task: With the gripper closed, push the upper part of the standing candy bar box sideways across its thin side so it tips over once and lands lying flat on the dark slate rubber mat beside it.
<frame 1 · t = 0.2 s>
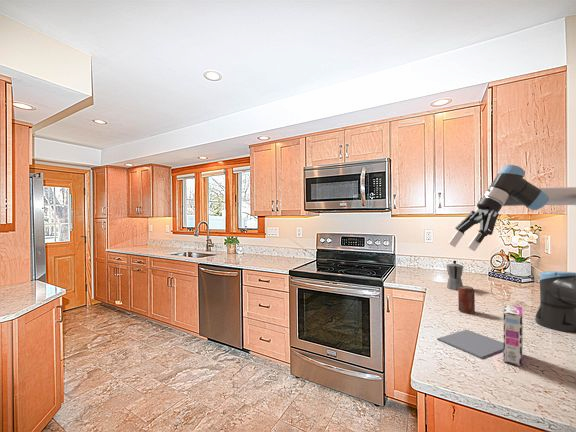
hand: (460, 247, 113), 36 cm above the worktop, tool tilted 35°, fingers open, 13 cm apart
soda can: (466, 311, 143), on the worktop
mat: (473, 343, 108), on the worktop
candy bar box: (513, 358, 97), on the worktop
coffeepot: (455, 289, 185), on the worktop
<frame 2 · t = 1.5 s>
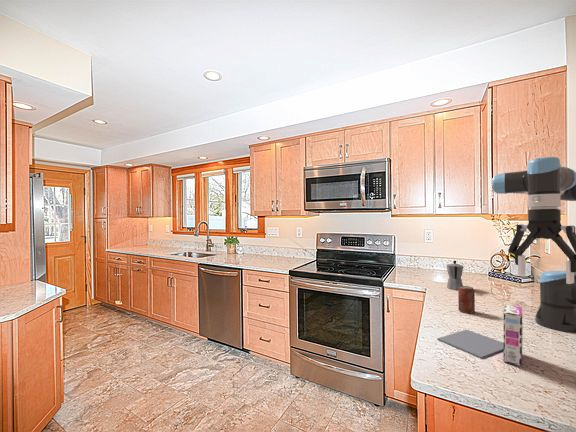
hand: (544, 279, 89), 28 cm above the worktop, tool pointing down, fingers open, 11 cm apart
nothing on the worktop moved.
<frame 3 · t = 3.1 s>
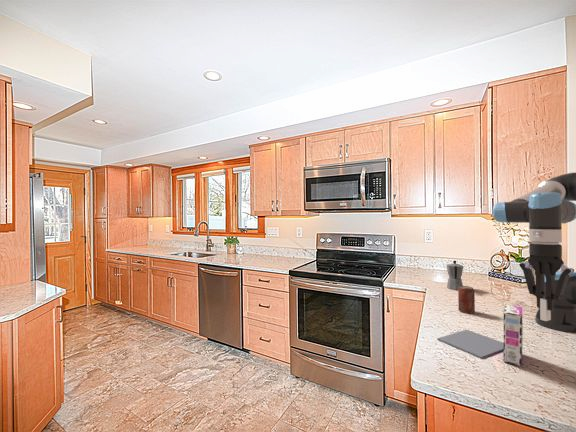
hand: (545, 319, 89), 16 cm above the worktop, tool pointing down, fingers closed
nothing on the worktop moved.
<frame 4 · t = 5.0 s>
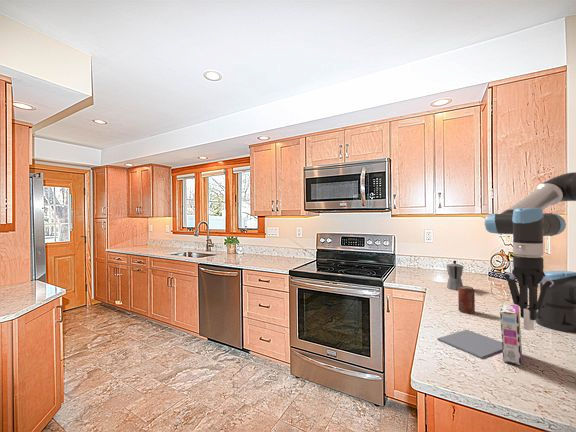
hand: (528, 328, 93), 11 cm above the worktop, tool pointing down, fingers closed
candy bar box: (513, 358, 97), on the worktop, touching gripper
everything else where it was.
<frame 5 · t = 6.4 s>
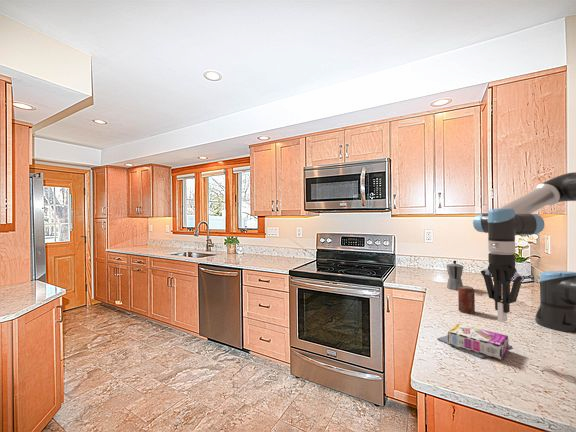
hand: (502, 320, 100), 11 cm above the worktop, tool pointing down, fingers closed
candy bar box: (506, 347, 98), point 3 cm above the worktop, touching mat
everything else where it was.
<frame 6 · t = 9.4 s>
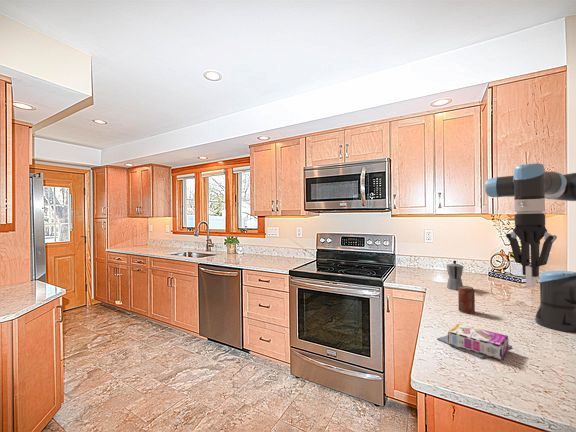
hand: (530, 286, 93), 25 cm above the worktop, tool pointing down, fingers closed
nothing on the worktop moved.
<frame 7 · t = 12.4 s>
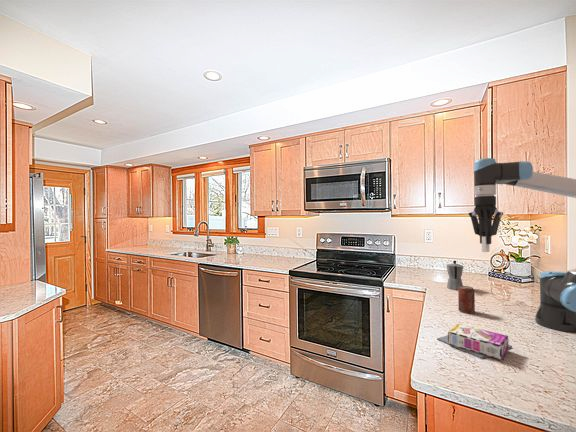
hand: (485, 251, 122), 32 cm above the worktop, tool pointing down, fingers closed
nothing on the worktop moved.
at the end: candy bar box tilted 91°; candy bar box touching mat; candy bar box inside the target area (4.8 cm from its centre), point 3.1 cm above the worktop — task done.
